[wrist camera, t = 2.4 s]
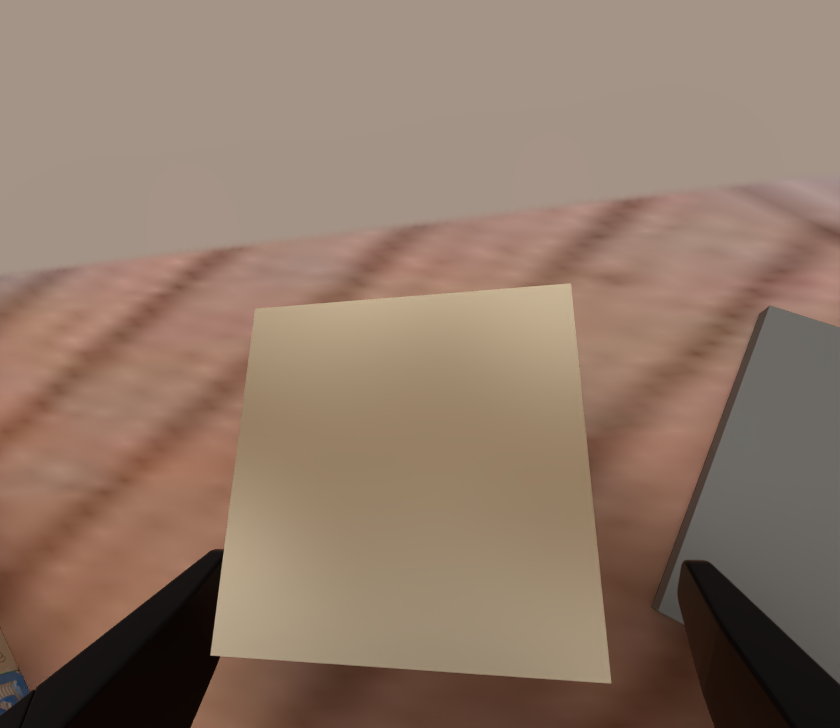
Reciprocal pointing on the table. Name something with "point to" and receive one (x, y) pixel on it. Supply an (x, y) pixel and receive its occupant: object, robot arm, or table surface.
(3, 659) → the stack of blocks
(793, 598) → the charcoal board
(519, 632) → the birch block
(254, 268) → the table surface
